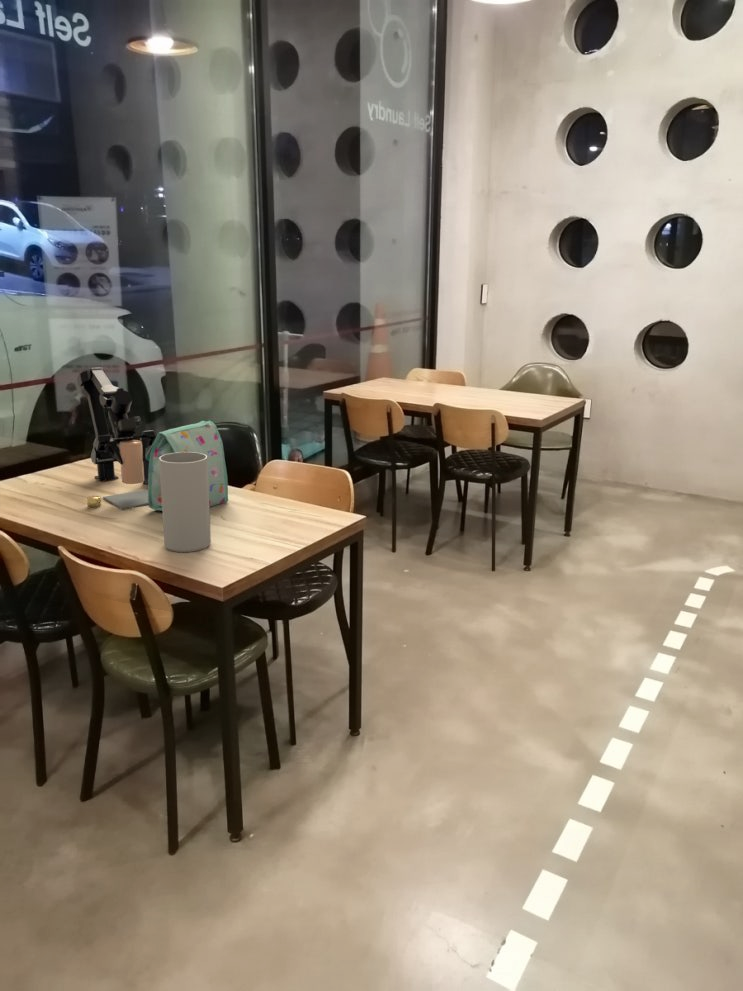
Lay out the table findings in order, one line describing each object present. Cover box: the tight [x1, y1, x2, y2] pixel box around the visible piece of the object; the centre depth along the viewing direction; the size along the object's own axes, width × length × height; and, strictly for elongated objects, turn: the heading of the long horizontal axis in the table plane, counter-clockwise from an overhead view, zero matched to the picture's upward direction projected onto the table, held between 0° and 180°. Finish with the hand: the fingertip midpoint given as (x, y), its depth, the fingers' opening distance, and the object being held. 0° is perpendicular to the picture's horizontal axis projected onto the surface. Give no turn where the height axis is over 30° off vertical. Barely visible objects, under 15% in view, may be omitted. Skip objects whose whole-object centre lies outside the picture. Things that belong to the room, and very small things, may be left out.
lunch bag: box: [146, 420, 229, 511], centre depth 243 cm, size 23×16×27 cm
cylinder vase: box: [159, 452, 212, 553], centre depth 209 cm, size 12×12×25 cm
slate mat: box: [102, 488, 149, 511], centre depth 252 cm, size 15×15×1 cm
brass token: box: [86, 495, 102, 509], centre depth 245 cm, size 4×4×3 cm
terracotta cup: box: [118, 440, 144, 485], centre depth 249 cm, size 7×7×13 cm
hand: (133, 462), depth 248 cm, fingers closed on terracotta cup, 7 cm apart
